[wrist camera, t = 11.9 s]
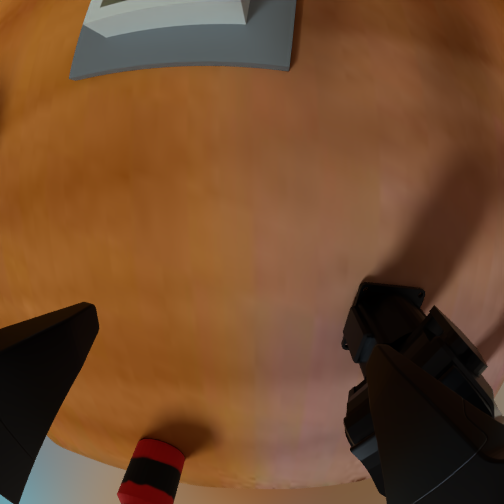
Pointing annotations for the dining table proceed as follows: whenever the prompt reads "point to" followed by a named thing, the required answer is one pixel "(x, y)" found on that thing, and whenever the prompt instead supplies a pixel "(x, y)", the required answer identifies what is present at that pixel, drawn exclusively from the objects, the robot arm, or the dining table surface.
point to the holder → (183, 35)
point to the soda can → (152, 474)
